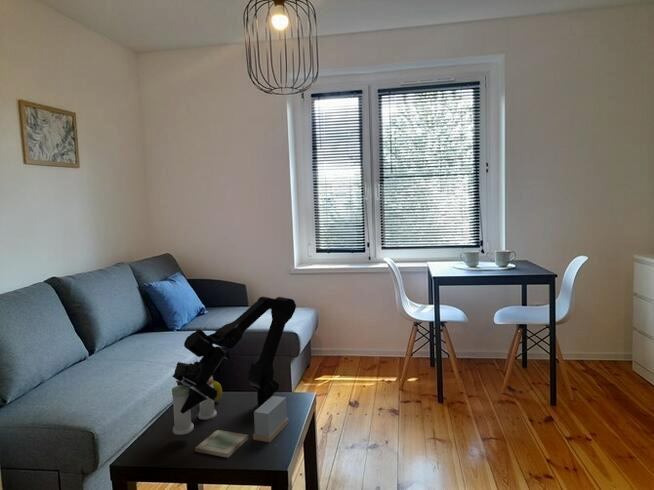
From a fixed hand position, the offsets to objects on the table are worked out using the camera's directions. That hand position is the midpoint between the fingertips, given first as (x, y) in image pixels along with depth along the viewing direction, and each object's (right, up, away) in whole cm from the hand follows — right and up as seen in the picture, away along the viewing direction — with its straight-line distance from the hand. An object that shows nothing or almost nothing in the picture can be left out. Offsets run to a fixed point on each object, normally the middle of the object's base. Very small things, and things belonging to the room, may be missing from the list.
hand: (177, 410), depth 137 cm
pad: (+14, -10, -2) cm, 17 cm away
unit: (+28, -8, +6) cm, 29 cm away
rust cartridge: (+4, -8, +18) cm, 20 cm away
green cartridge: (+1, -6, +2) cm, 7 cm away
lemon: (+4, -8, +29) cm, 30 cm away
